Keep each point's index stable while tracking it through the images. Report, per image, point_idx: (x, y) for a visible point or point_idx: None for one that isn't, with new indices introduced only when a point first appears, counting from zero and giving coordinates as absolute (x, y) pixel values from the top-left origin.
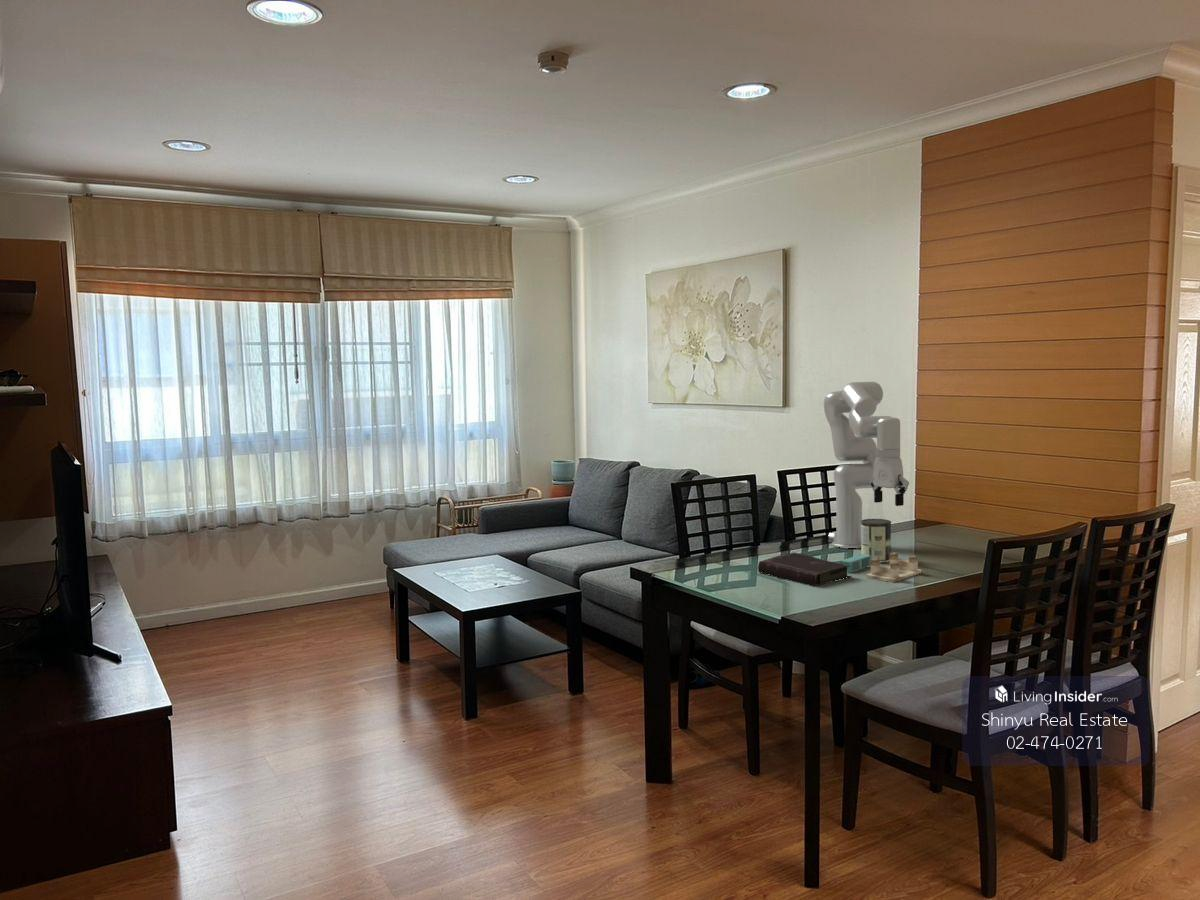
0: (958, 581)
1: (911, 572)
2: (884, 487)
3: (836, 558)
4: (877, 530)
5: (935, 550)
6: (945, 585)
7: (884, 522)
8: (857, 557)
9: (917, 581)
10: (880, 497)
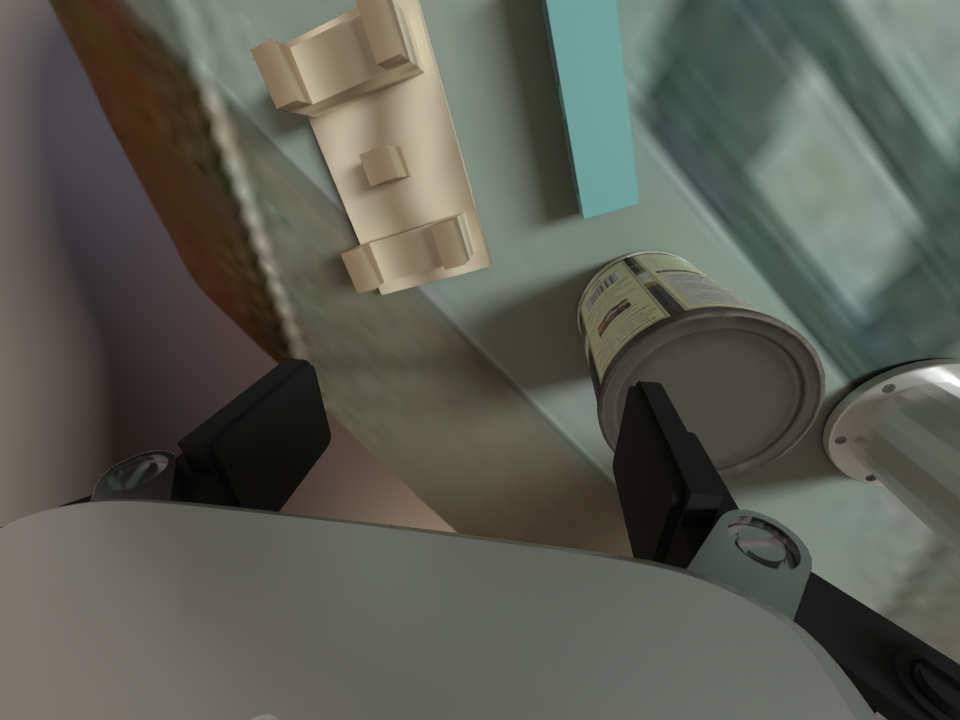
0: (244, 293)
1: (360, 226)
2: (339, 519)
3: (814, 181)
4: (624, 330)
5: (592, 542)
6: (205, 212)
7: None
8: (596, 107)
9: (280, 168)
10: (626, 481)
